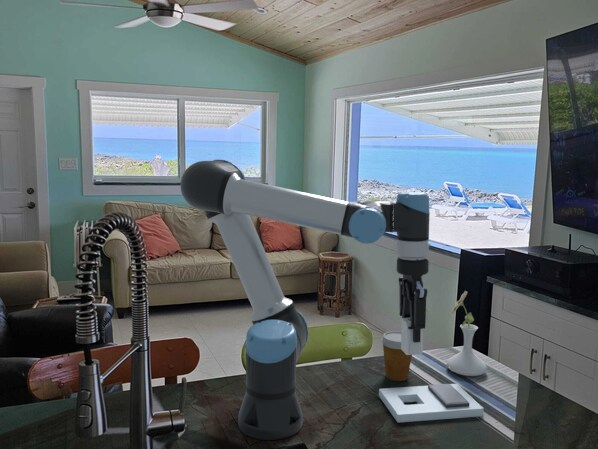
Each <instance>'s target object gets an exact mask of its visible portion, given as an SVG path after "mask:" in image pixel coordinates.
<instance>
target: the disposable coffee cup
mask: <svg viewBox="0 0 598 449" xmlns="http://www.w3.org/2000/svg"><path fill="white" fill-rule="evenodd" d="M380 340H381V343H382V349H383V361H384V370H385V373H384V374H385V378H386V379H388V380H391V381H393V382H402V381H406V380H408V378H409V374H410V373H409V372H410V367H411V363H412V362H411V361H412V356H413V355H406V354H405V353H404V352H403V351H402V350H401V331H398V330H397V331H386V332H385V333H383V335H382V337H381V339H380Z"/></svg>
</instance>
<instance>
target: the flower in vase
mask: <svg viewBox="0 0 598 449" xmlns="http://www.w3.org/2000/svg"><path fill="white" fill-rule="evenodd" d="M467 295H468V291H466V290H465V291H464V292H463V293H462V294H461V296H460V299H459V300H457V301H456V302H455V304H456V305H455V306H453V307H452V309H451V311H450V313H451V314H454V313H455V312H456V311H457V309H458V308H459V307H463V309H464V311H465V314H466V315H465V316H464V319H465V320H464V321H463V322H462V324H460V326H459V327H460V328H461V330H462V334H463V348H462V350H461V351H459V352H458V353H456V354H455V355H453V356H451V357H450V358H448V359H447V362H446V366H447V369H449V370H450V371H451V372H453V373H455V374H458V375H461V376H465V377H467V376H468V377H476V376H481V375H484V374H485V373H486V372H487V370H488V368H487V367H488V366H487V365H486V363H485V362H484V361H483V360H482V359H481V358H480V357H478V356H477V355H476V354H475V353H474V352H473V340H474V335H475V332H476V331H477V330H478V329H479V327H478V326H477V325H475V324H471V323H473V322H474V321H475V318H474V316H473V314H472V312H471V311H470V312H468V311H467V309H466V307H465V304H464V301H465V298H466V297H467Z"/></svg>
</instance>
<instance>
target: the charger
mask: <svg viewBox="0 0 598 449" xmlns="http://www.w3.org/2000/svg"><path fill="white" fill-rule="evenodd" d="M400 320H401V322H400V323H401V327H400V332H401V350H402V351H403V352H404V353H405V354H406V355H410V354H409V329H408V327H411V318H402V317H401V319H400ZM423 330H424V329H421V354H420V355H423V351H424V350H423V342H424V341H423V340H424V339H423V337H424V336H423V335H424V334H423V333H424V331H423Z"/></svg>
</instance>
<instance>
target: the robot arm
mask: <svg viewBox="0 0 598 449" xmlns="http://www.w3.org/2000/svg"><path fill="white" fill-rule="evenodd" d="M180 192H181V195H182V197H183V199H184V200H185V201H186V202H187V204H188V205H190V206H191V207H192V208H194V209H197V210H199V211H203V212H204V214H205V217H206V218H207V221H208V222H211V223H213V224H215V225H216V227H217V228H218V231H219V234H220V235H221V238H222V240H223V243H224V245H225V247H226V250H227V251H228V254H229V256H230V259H231V261H232V264H233V265H234V268H235V270H236V273H237V275H238V277H239V280H240V282H241V285H242V287H243V289H244V291H245V294H246V296H247V298H248V301H249V302H250V305H251V308H252V311H253V312H252V314H251V316H250V320H251V323H252V325H251V326H250V327H249V328H248V330H247V331H246V336H245V342H244V347H245V394H244V396H243V400H242V403H241V405H240V408H239V412H238V416H237V419H238V420H237V421H238V422H237V425H238V429H239V430H240V432H242V433H243V434H244V435H246V436H248V437H250V438H253V439H256V440H257V439H258V440H264V441H274V440H283V439H287V438H289V437H291V436H293V435H296V434H297V433H298V432H299V431H300V430H301V429H302V428H303V422H304V421H303V419H304V418H303V411H302V408H301V404H300V401H299V398H298V395H297V391H296V390H297V388H296V386H297V383H296V382H297V381H296V380H297V362H298V359H299V358H300V355H301V353H302V352H303V349H304V348H305V346H306V343H308V342H307V341H308V340H309V339H308V336H309V327H308V322H307V319H306V317H305V316H304V314H302V313H301V312H300V311H299V310H297V308H296V305H295V303H294V301H293V300H292V299H290V298H287V297H285V295H284V293H283V291H282V288H281V286H280V284H279V281H278V278H277V276H276V274H275V272H274V269H273V267H272V265H271V262H270V260H269V258H268V256H267V253H266V250H265V248H264V246H263V243H262V240H261V239H260V236H259V234H258V231H257V229H256V227H255V225H254V222H253V221H252V218H251V216H254V217H258V218H261V219H267V220H271V221H277V222H281V223H284V224H289V225H295V226H299V227H304V228H308V229H313V230H317V231H321V232H322V231H323V232H327V233H331V234H335V235H340V236H344V237H348V238H352V239H354V240H355V241H356V242H358V243H360V244H364V245H366V244H367V245H369V244H372V243H375V242H377V241H378V240H380V238H382V236H384V234H385V233H396V255H397V256H398V257H397V258H396V272H397V273H398V274H400V275H402V276H401V277H398V284H399V285H398V286H399V316H400V317H401V318H411V327H408V329H409V354H410V355H412V356H413V355H422V354H421V329H423V330H424V329H426V323H427V322H426V318H427V317H426V315H427V313H426V312H427V297H428V289H427V288H424V282H423V279H422V276H424V275H427V274H428V273H429V267H430V263H429V261H430V260H429V258H428V256H429V252H430V251H429V247H430V246H431V243H430V242H429V241H430V236H429V235H430V214H431V213H430V197H429V195H428V194H427V193H425V192H421V191H420V192H419V191H407V192H406V191H405V192H404V191H403V192H399V193H397V196H396V200H391V201H386V200H385V201H384V200H383V201H382V200H381V201H380V200H379V201H378V200H374V201H373V200H357V201H355V200H354V201H345V200H341V199H336V198H331V197H327V196H322V195H318V194H314V193H310V192H305V191H304V192H303V191H299V190H295V189H290V188H286V187H282V186H281V187H280V186H276V185H272V184H267V183H262V182H259V181H252V180H248V179H246V176H245V174H244V173H243V171H242V169H241V168H240V167H239V166H238V165H237V164H234V163H233V162H232V161H229V160H225V159H213V160H201V161H200V160H199V161H196V162H194V163H193V164H191V165H189V166H188V167H187V168H186V169H185V170H184V171H183V174H182V176H181V179H180Z"/></svg>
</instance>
